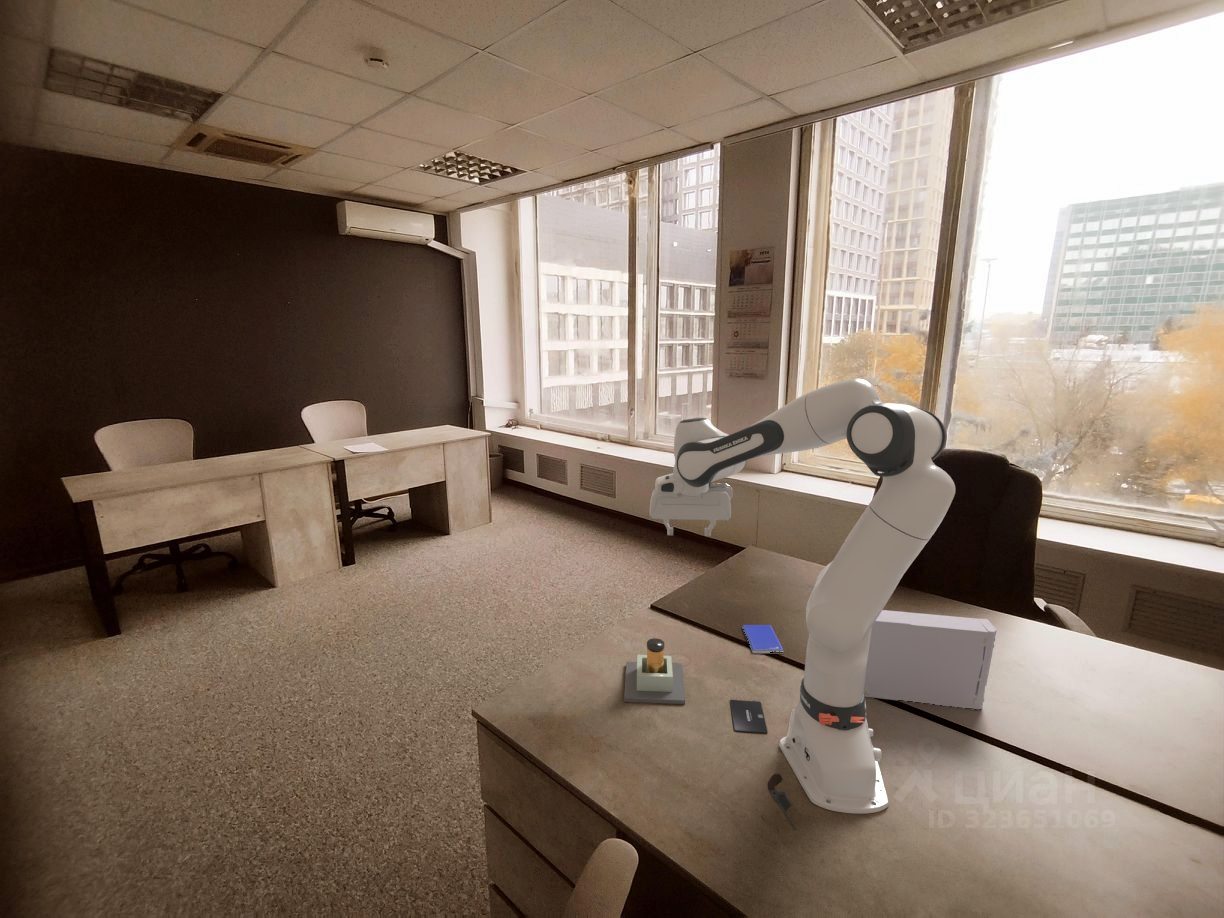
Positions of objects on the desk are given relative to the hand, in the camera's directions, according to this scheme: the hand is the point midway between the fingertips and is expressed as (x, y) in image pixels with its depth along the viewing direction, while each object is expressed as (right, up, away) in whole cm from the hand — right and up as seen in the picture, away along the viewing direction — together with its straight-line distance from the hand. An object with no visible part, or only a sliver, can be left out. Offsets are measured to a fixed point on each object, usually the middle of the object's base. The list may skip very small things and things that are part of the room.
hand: (688, 534), depth 138 cm
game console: (+52, -37, -10) cm, 64 cm away
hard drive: (+22, -32, +13) cm, 41 cm away
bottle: (-9, -34, -6) cm, 36 cm away
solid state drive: (+11, -39, -17) cm, 43 cm away
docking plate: (-9, -35, -5) cm, 37 cm away
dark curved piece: (+13, -44, -39) cm, 60 cm away
